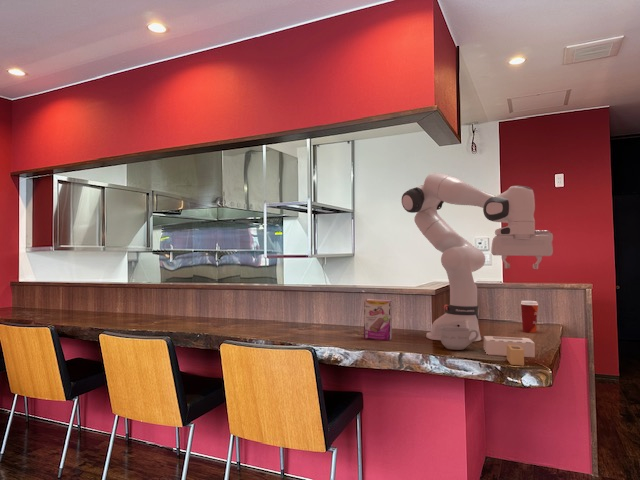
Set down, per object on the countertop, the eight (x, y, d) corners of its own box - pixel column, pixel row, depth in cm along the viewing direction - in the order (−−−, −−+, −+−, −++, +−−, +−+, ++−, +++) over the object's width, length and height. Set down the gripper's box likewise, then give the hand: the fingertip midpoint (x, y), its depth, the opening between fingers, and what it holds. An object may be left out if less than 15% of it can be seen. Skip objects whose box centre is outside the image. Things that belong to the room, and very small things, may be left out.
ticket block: (486, 354, 162) (486, 340, 162) (483, 349, 170) (483, 335, 171) (534, 357, 158) (534, 342, 158) (529, 351, 167) (529, 337, 167)
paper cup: (540, 333, 204) (540, 302, 204) (522, 332, 205) (522, 302, 205) (535, 330, 211) (535, 300, 212) (518, 329, 213) (518, 300, 213)
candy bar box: (363, 339, 187) (363, 299, 188) (366, 337, 192) (366, 298, 193) (390, 341, 184) (390, 301, 184) (392, 338, 189) (392, 299, 189)
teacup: (438, 350, 168) (438, 328, 168) (441, 344, 178) (441, 324, 178) (478, 353, 163) (478, 331, 163) (479, 347, 173) (479, 326, 173)
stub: (510, 364, 147) (510, 348, 147) (506, 358, 155) (506, 343, 155) (524, 365, 146) (524, 349, 146) (519, 359, 154) (519, 344, 154)
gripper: (550, 230, 162) (550, 268, 162) (490, 230, 167) (490, 267, 167) (555, 229, 156) (555, 269, 156) (492, 229, 161) (492, 268, 161)
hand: (521, 268), depth 161 cm, fingers open, 8 cm apart
